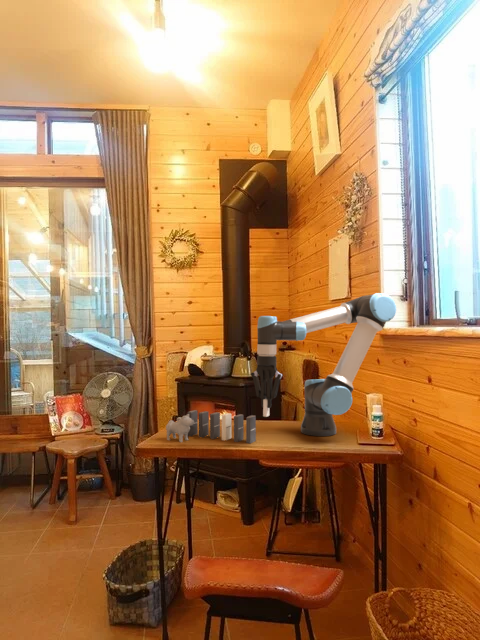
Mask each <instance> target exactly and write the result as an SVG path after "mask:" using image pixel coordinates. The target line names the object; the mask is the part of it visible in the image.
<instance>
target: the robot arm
mask: <svg viewBox="0 0 480 640" xmlns="http://www.w3.org/2000/svg"><path fill="white" fill-rule="evenodd" d="M396 314H397V305H396V302H395V300H394V299H393V297H391V296H390V295H388V294H386V293H380V292H378V293H377V292H376V293H374V294H368V295H362V296H359V297H356V298H354V299H351V300H349V301H345V302H341V304H340V306H336V307H332V308H328V309H325V310H320V311H318V312H317V311H316V312H312V313H310V314H305V315H303V316H298V317H294V318H290V319H287V320H283V321H281V320H278V317H277V316H274V315H273V316H271V315H260V316H259V317H258V319H257V326H256V328H257V331H256V332H257V345H256V346H257V347H256V348H257V351H256V353H257V359H256V360H257V361H256V364H257V366H256V370H255V371H253V372H251V373H250V376H251V377H252V379H253V385H254V389H255V395H256V397H257V398H260V401H261V402H260V404H261V405H260V407H261V408H263V409H262V417H264V418H267V417H269V416H270V408H272V405H273V404H272V403H273V402H272V400H273V399H275V398H277V397H278V391H279V387H280V383H281V380H282V378H283V376H284V375H283V373H280V372H279V371H278V369H277V356H276V355H277V342H278V341H296V342H298V341H303V340H305V339H306V336H307V334H308V333H311V332H312V333H313V332H315V331H320V330H323V329H326V328H331V327H334V326H338V325H342V324H347V325H350V324H354V323H357V324H356V326H355V328H354V330H353V331H352V334H351V336H350V337H349V340H348V342H347V344H346V345H345V347H344V350H343V351H342V353H341V355H340V358H339V360H338V362H337V363H336V366H335V368H334V370H333V372H332V373H331V374H328V375H327V376H326V378H319V379H316V378H315V379H306V380H305V381H304V387H303V388H304V416H303V419H302V422H301V425H300V433H301V434H304V435H308V436H313V437H314V436H315V437H327V436H328V437H331V436H334V435H336V434H337V426H336V422H335V420H334V417H333V415H334V416H340V415H343V414H345V413H347V412H348V411H349V410H350V408H351V406H352V404H353V395H352V393H353V391H354V390H355V388H354V385H353V382H354V380H355V378H356V376H357V374H358V373H359V372H358V371H359V370H360V367H361V365H362V363H363V362H364V360H365V358H366V356H367V353H368V351H369V349H370V347H371V346H372V343H373V340H374V339H375V337H376V334H377V333H378V332H382V331H383V329H384V327H385V325H386V323H387V322H390V321H391V320H393V318H395V316H396ZM259 377H260V380H259ZM274 377H275V379H273V378H274ZM273 381H274V383H273Z"/></svg>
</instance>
